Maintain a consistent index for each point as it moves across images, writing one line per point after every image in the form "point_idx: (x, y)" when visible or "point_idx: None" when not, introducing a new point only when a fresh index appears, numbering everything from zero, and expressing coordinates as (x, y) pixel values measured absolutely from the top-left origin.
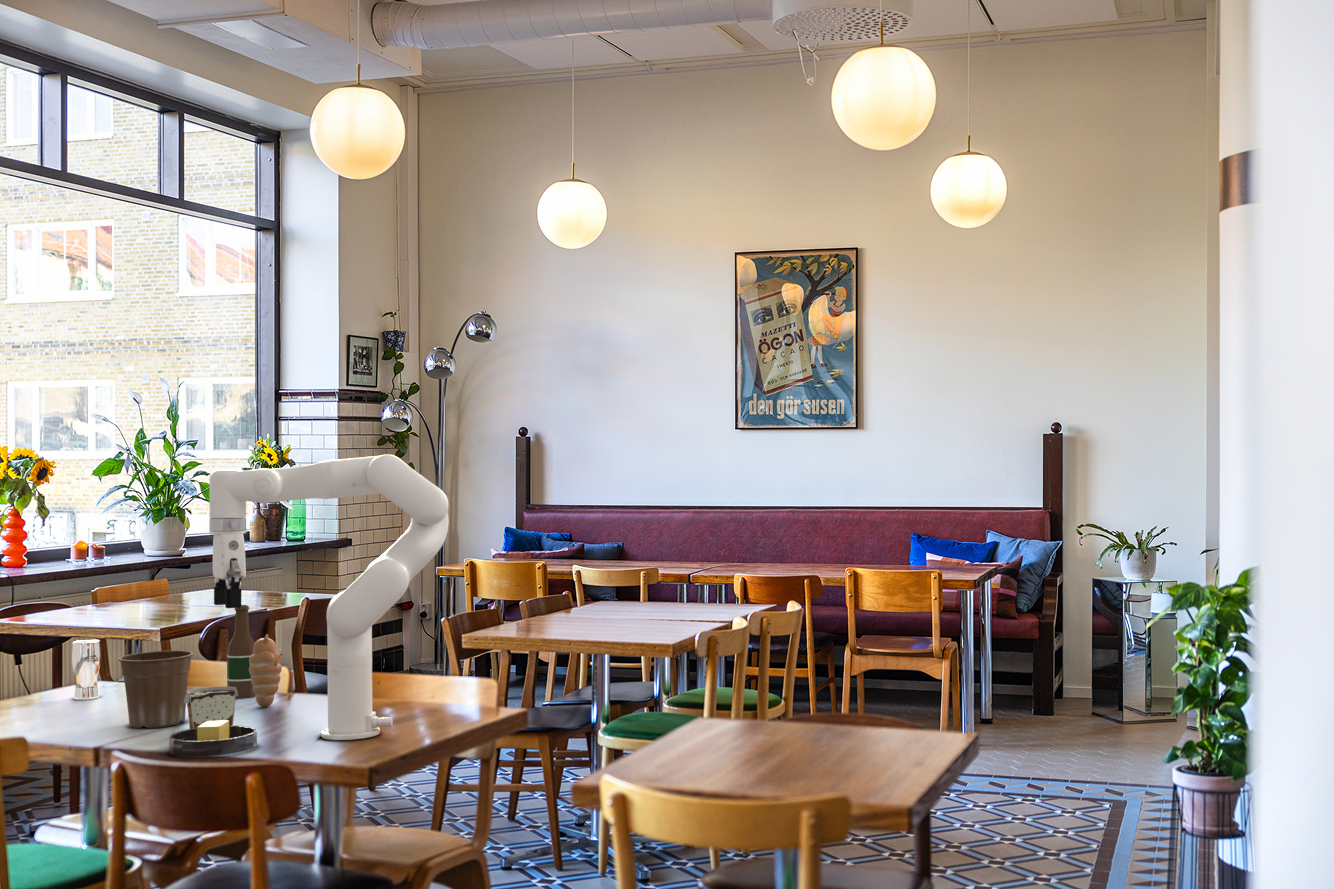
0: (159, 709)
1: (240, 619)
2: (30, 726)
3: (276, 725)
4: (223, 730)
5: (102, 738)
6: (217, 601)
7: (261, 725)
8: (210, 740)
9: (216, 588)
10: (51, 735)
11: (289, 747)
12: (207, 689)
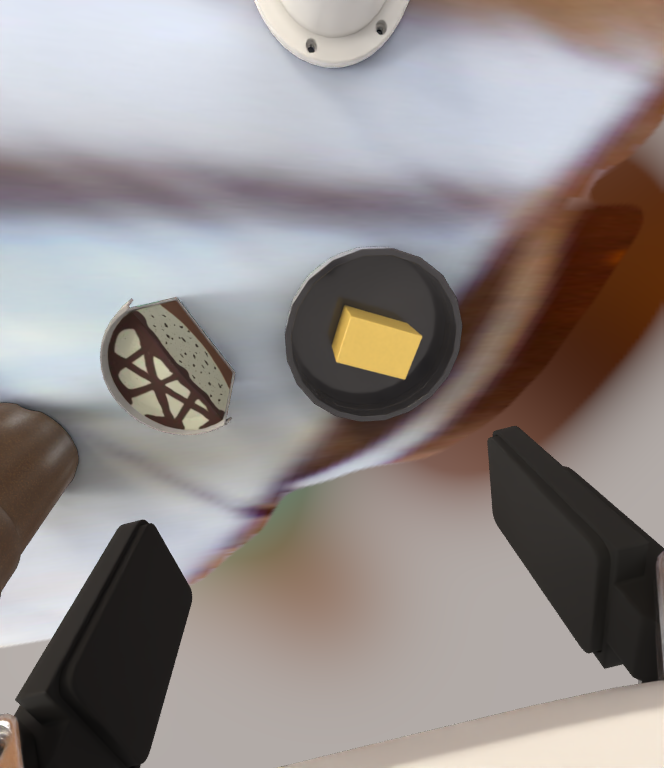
0: (55, 465)
1: None
2: (11, 624)
3: (95, 183)
4: (390, 324)
5: (167, 517)
6: (182, 605)
7: (86, 224)
8: (456, 346)
9: (144, 747)
10: None
11: (417, 170)
12: (112, 387)
